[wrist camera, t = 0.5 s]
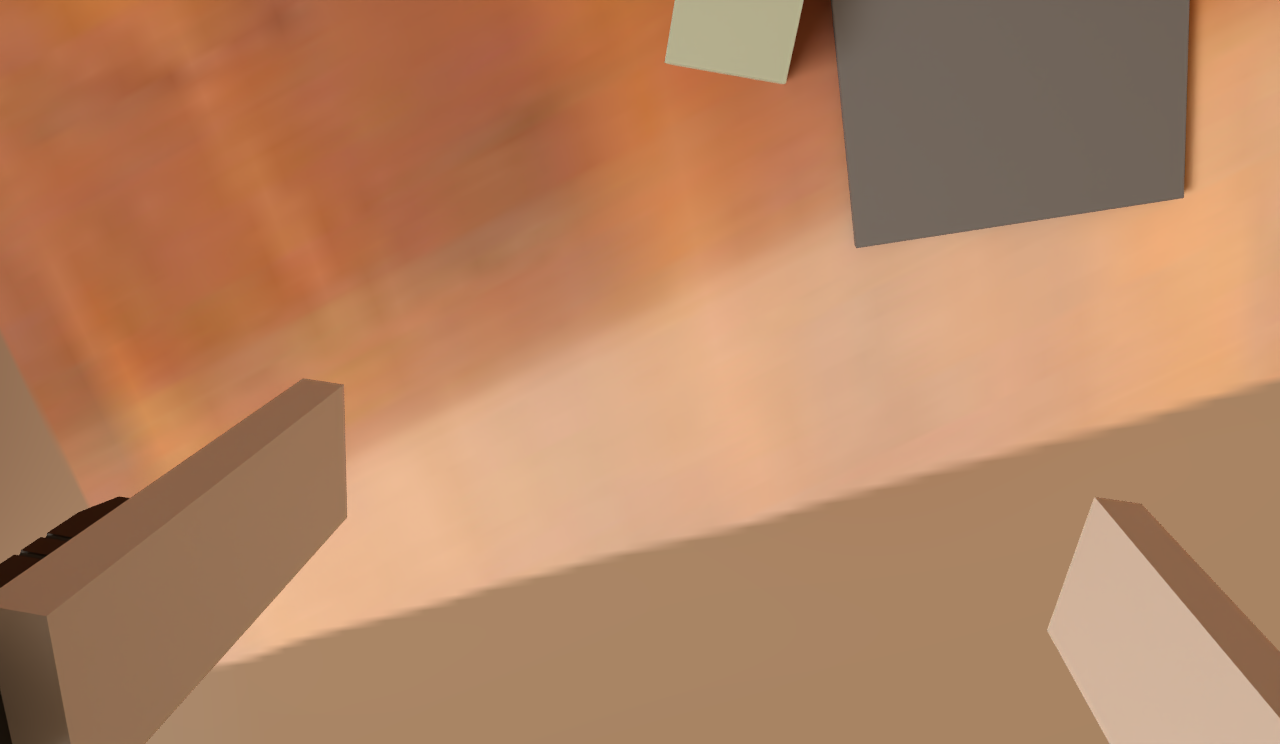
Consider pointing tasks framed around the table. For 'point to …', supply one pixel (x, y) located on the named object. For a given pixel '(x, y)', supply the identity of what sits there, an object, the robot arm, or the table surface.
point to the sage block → (735, 37)
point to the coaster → (1008, 110)
